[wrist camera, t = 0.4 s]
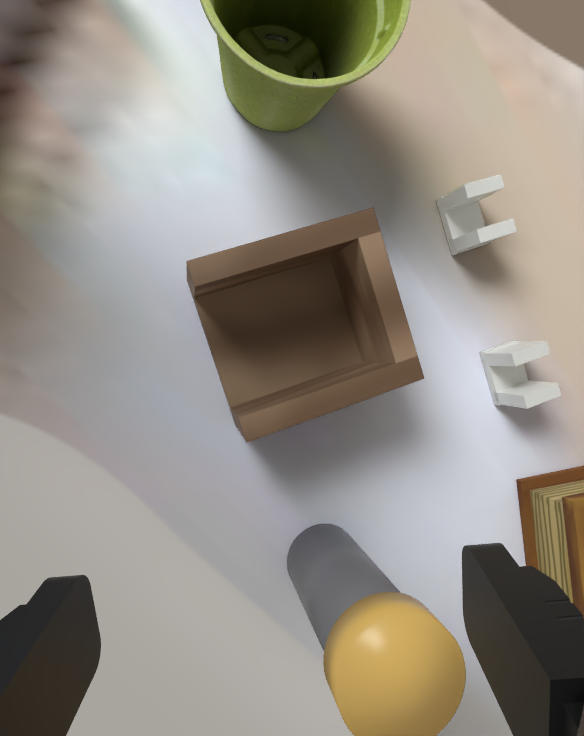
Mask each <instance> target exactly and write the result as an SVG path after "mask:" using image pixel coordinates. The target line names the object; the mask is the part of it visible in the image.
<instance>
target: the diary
mask: <svg viewBox="0 0 584 736" xmlns="http://www.w3.org/2000/svg"><path fill="white" fill-rule="evenodd" d="M516 481H517V490H518V499H519V507H520V516H521V525H522V534H523V543H524V552H525V561H526V566H533V567H535V568H536V569H538V570H539V571H541V572H542V573H544V574H545V575H547V576H548V577H550V578H552V579H553V580H555V581H556V583H557V584H558V585H559V586H560V588H561V589H562V590H563V591H564V592H565V594H566V595H567V596H568V597H569V599H570V602H571V603H574V605H575V606H576V607H577V608H578V610H579V611H580V612H581V613H582V614H583V618H584V466H580V467H575V468H571V469H566V470H561V471H556V472H551V473H546V474H541V475H537V476H532V477H527V478H522V479H517V480H516Z"/></svg>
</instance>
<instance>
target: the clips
mask: <svg viewBox="0 0 584 736" xmlns="http://www.w3.org/2000/svg"><path fill="white" fill-rule="evenodd" d="M503 188H505V187H504V184H503V180H502V176H501V174H498V175H495V176H491V177H488V178H485V179H481V180H478V181H474V182H471V183H467V184H464V185H462V186H461V187H459V188H457V189H456V190H454V191H453V192H451V193H449V194H448V195H446V196H442V197H440V198H438V199H437V200H436V202H437V205H438V209H439V212H440V216H441V219H442V223H443V226H444V230H445V233H446V237H447V240H448V244H449V247H450V251H451V254H452V255H455V254H459V253H462V252H465V251H468V250H471V249H474V248H478V247H481V246H484V245H487V244H490V241H493V240H496V239H498V238H501V237H504V236H506V235H509V234H512V233H514V232H517V231H516V228H515V224H514V220H513V218H512V219H509V220H505V221H502V222H499V223H496V224H492V225H489V226H486V227H485V223H484V219H483V216H482V212H481V209H480V205H479V202H478V201H480V200H482V199H484V198H486V197H488V196H489V195H491V194H493V193H495V192H497V191H499V190H501V189H503ZM548 354H550V352H549V348H548V344H547V341H529V342H518V341H517V340H515V341H509V342H506V343H504V344H501V345H498V346H495V347H492V348H490V349H487V350H484V351H481V352H480V355H481V359H482V362H483V366H484V369H485V373H486V376H487V380H488V383H489V387H490V390H491V394H492V397H493V401H494V404H495V405H498V406H501V405H507V406H513V407H519V408H525V409H528V408H531V407H533V406H536V405H538V404H541V403H543V402H546V401H549V400H551V399H554V398H556V397H559V396H561V392H560V388H559V384H558V383H556V382H543V381H530V380H528V377H527V373H526V370H525V366H524V363H526V362H529V361H532V360H535V359H537V358H540V357H543V356H545V355H548Z"/></svg>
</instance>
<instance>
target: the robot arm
mask: <svg viewBox="0 0 584 736" xmlns="http://www.w3.org/2000/svg"><path fill="white" fill-rule="evenodd" d="M462 585H463V616H464V622H465V627H466V631H467V635H468V638H469V641H470V644H471V646H472V648H473V650H474V652H475V654H476V657H477V659H478V661H479V663H480V665H481V667H482V669H483V672H484V674H485V676H486V678H487V680H488V682H489V684H490V687H491V689H492V691H493V693H494V695H495V697H496V699H497V702H498V704H499V706H500V708H501V710H502V712H503V714H504V717H505V719H506V721H507V723H508V725H509V727H510V729H511V732H512V734H513V736H584V618H583V614H582V613H581V612H580V611H579V610H578V608H577V607H576V606H575V605H574V603H571V602H570V599H569V597H568V596H567V595H566V594H565V592H564V591H563V590H562V589H561V588H560V586H559V585H558V584H557V583H556V581H555V580H553V579H552V578H550V577H548V576H547V575H545V574H544V573H542V572H541V571H539V570H538V569H536V568H535V567H533V566H523V567H519V566H518V564H517V563H516V562H515V560H514V559H513V558H512V556H511V555H510V554H509V552H508V551H507V550H506V548H505V547H504V546H503V545H502V544H501V543H492V544H479V545H467V546H464V547H463V551H462ZM100 650H101V639H100V633H99V627H98V622H97V617H96V612H95V606H94V601H93V596H92V591H91V585H90V582H89V579H88V578H87V577H86V576H85V575H77V576H65V577H52V578H48V579H47V580H45V581H44V582H43V584H42V585H41V586H40V587H39V589H38V590H37V591H36V593H35V594H34V595H33V597H32V598H31V599H30V601H29V602H28V603H27V605H20V606H18V607H17V608H16V609H14V610H13V611H12V612H10V613H9V614H8V615H6V616H5V617H4V618H2V619H1V620H0V736H66V734H67V732H68V730H69V728H70V726H71V724H72V721H73V719H74V717H75V715H76V713H77V711H78V708H79V707H80V704H81V702H82V700H83V698H84V696H85V693H86V692H87V689H88V687H89V685H90V683H91V681H92V679H93V677H94V674H95V672H96V670H97V667H98V663H99V658H100Z"/></svg>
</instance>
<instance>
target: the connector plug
mask: <svg viewBox="0 0 584 736" xmlns="http://www.w3.org/2000/svg"><path fill="white" fill-rule="evenodd" d="M287 568H288V573H289V576H290V578H291V580H292V582H293V585H294V587H295V589H296V591H297V593H298V595H299V598H300V600H301V602H302V604H303V606H304V609H305V611H306V613H307V615H308V617H309V620H310V622H311V624H312V626H313V628H314V630H315V633H316V635H317V637H318V639H319V641H320V644H321V646H322V648H323V650H324V672H325V676H326V680H327V682H328V685H329V687H330V689H331V692H332V694H333V697H334V699H335V701H336V704H337V706H338V708H339V711H340V713H341V715H342V718H343V720H344V722H345V724H346V725H347V727H348V729H349V730H350V731H351V732H352V734H353V735H354V736H436V735H437V734H438V733H439V732H440V731H441V730H442V729H443V728H444V727H445V726H446V725H447V724H448V722H449V721H450V720H451V718H452V717H453V715H454V714H455V712H456V710H457V708H458V706H459V704H460V701H461V699H462V696H463V692H464V687H465V678H466V670H465V662H464V658H463V654H462V651H461V649H460V647H459V645H458V643H457V641H456V640H455V638H454V637H453V636H452V634H451V633H450V632H449V631H448V630H447V629H446V628H445V627H444V626H443V625H442V624H441V623H440V621H439V620H438V619H437V618H436V617H435V616H434V615H433V614H432V613H431V612H430V611H429V610H428V609H427V608H426V607H425V606H424V605H423V604H422V603H421V602H419V601H418V600H417V599H415V598H413V597H411V596H409V595H406V594H403V593H400V592H399V590H398V589H397V588H396V587H395V586H394V585H393V584H392V583H391V581H390V580H389V579H388V578H387V577H386V576H385V575H384V574H383V572H382V571H381V570H380V569H379V568H378V567H377V566H376V565H375V563H374V562H373V561H372V560H371V559H370V558H369V557H368V556H367V554H366V553H365V552H364V551H363V550H362V549H361V548H360V547H359V545H358V544H357V543H356V542H355V541H354V540H353V539H352V538H351V536H350V535H349V534H348V533H347V532H346V531H344V530H343V529H341V528H340V527H338V526H335V525H331V524H319V525H315V526H312V527H309V528H307V529H306V530H304V531H303V532H302V533H300V534H299V535H298V536H297V537H296V539H295V540H294V541H293V543H292V545H291V547H290V549H289V552H288V557H287Z"/></svg>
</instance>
